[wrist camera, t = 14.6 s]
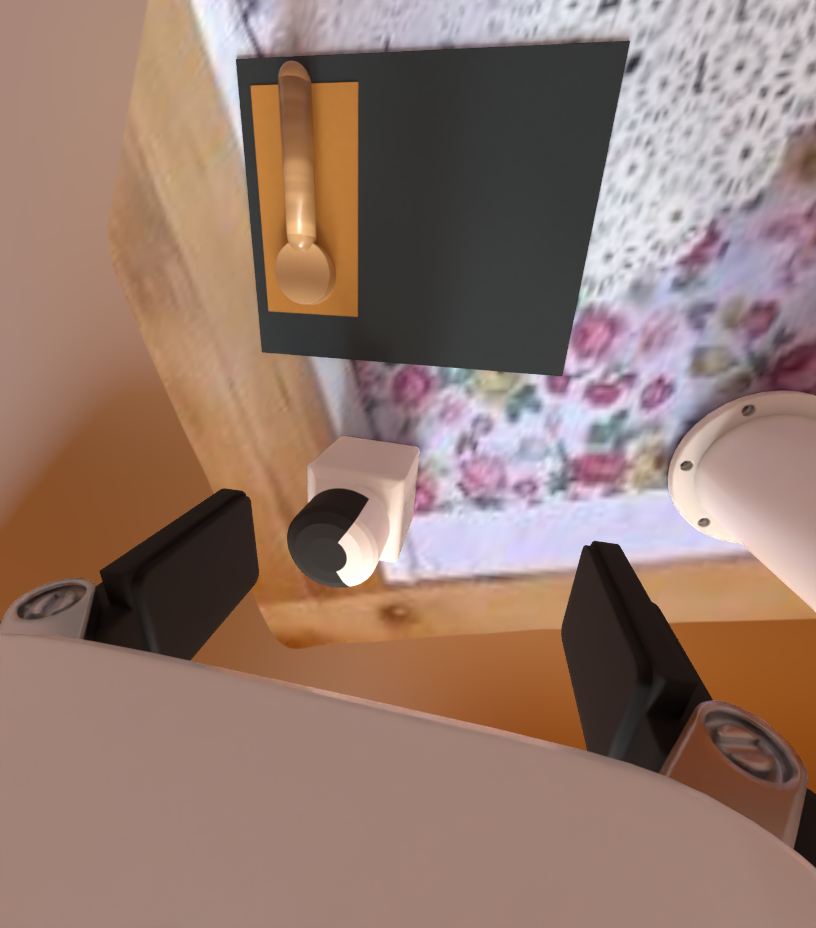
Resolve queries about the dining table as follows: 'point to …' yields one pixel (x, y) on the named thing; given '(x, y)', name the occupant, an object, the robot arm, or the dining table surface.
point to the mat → (437, 200)
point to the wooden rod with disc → (300, 195)
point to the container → (354, 510)
